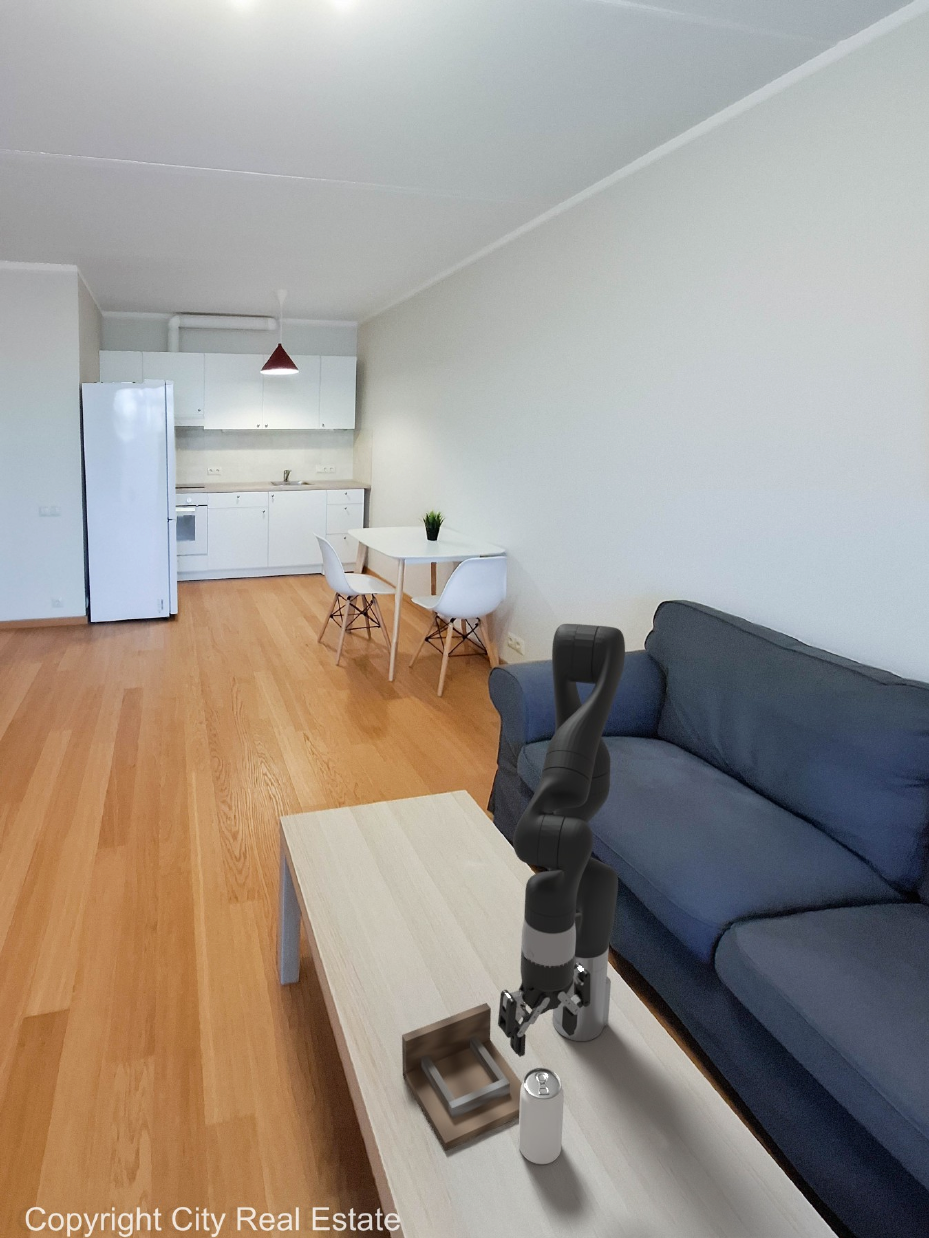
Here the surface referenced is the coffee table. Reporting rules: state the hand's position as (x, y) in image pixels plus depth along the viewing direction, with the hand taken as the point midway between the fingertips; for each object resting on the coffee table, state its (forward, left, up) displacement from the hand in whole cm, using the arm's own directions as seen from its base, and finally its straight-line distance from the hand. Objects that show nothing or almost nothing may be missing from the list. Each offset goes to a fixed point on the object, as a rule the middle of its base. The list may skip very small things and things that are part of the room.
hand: (543, 1041), depth 117 cm
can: (0, 0, -20) cm, 20 cm away
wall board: (+5, -14, -19) cm, 24 cm away
